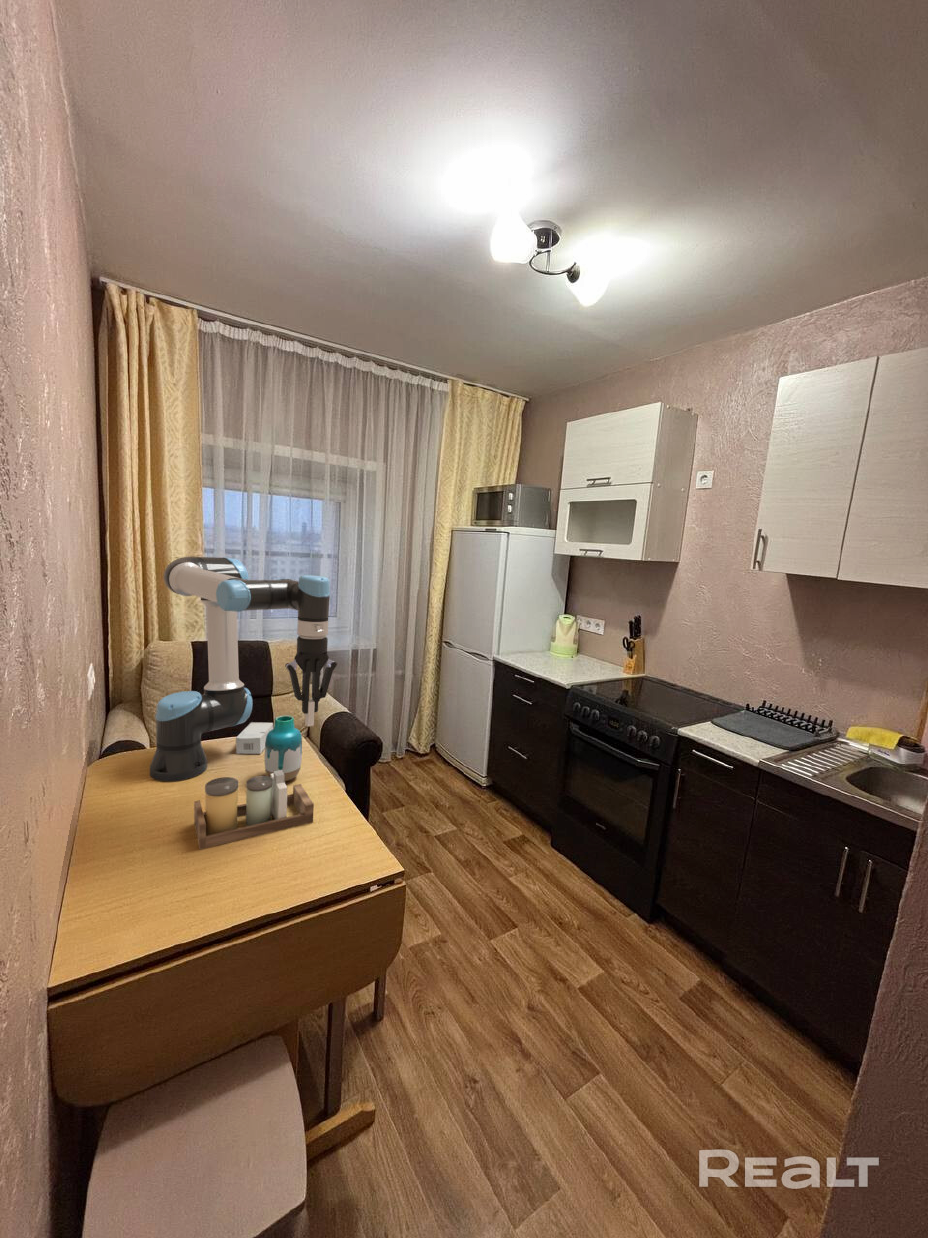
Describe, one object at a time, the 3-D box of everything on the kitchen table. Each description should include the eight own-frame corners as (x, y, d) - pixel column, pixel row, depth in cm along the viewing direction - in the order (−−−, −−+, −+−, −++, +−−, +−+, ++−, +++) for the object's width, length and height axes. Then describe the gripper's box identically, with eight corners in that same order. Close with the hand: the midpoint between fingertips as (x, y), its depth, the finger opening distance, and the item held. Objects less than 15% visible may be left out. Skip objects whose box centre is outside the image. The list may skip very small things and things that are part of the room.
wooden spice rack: (194, 823, 122) (194, 801, 121) (300, 800, 137) (300, 780, 136) (199, 849, 112) (199, 825, 112) (313, 822, 127) (313, 800, 126)
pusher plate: (269, 809, 131) (270, 766, 129) (277, 807, 132) (278, 765, 130) (278, 826, 123) (279, 781, 122) (286, 824, 125) (287, 780, 123)
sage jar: (243, 818, 126) (244, 778, 124) (268, 813, 129) (269, 774, 128) (247, 831, 121) (248, 789, 119) (273, 825, 124) (275, 784, 123)
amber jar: (203, 827, 121) (203, 780, 120) (234, 820, 125) (235, 775, 124) (206, 842, 115) (207, 793, 114) (239, 834, 119) (240, 787, 118)
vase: (306, 773, 153) (309, 714, 151) (291, 789, 143) (293, 726, 140) (274, 769, 154) (276, 710, 152) (257, 784, 144) (258, 722, 141)
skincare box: (235, 737, 161) (249, 721, 176) (235, 755, 162) (249, 737, 177) (262, 737, 163) (273, 721, 177) (262, 755, 164) (273, 737, 178)
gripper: (290, 640, 119) (287, 733, 122) (342, 638, 126) (338, 725, 129) (282, 634, 125) (280, 723, 128) (332, 632, 132) (329, 716, 135)
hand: (309, 724), depth 129 cm, fingers closed
